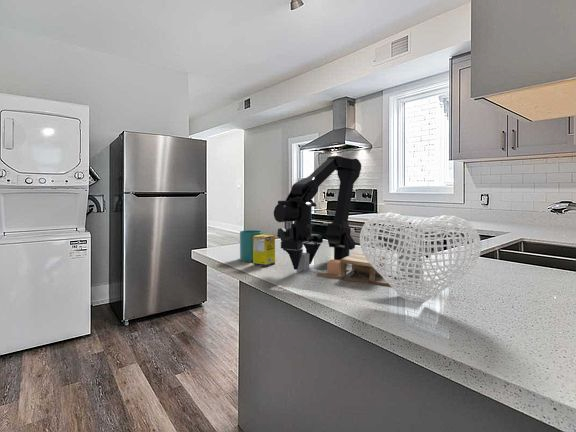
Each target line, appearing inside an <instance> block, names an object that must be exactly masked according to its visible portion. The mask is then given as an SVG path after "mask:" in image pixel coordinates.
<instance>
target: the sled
mask: <svg viewBox="0 0 576 432" xmlns="http://www.w3.org/2000/svg"><path fill="white" fill-rule="evenodd" d="M302 271H308V272H313V273H318V272H321V273H327V269H324V270H320V269H315V268H310V264H309V253H306V252H303V251H302V255H301V259H300V262H299V266H298V269H297V270H296V273H299V272H302ZM353 275H355V273H354V270H352V269H350V271H348V272H346V276H348V277H352V276H353Z"/></svg>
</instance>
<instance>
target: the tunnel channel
mask: <svg viewBox="0 0 576 432" xmlns="http://www.w3.org/2000/svg"><path fill="white" fill-rule="evenodd" d="M373 255H374V254H372V256H373ZM375 258H376V257H375ZM377 258H378V259H379V256H377ZM371 259H372V260H373V258H371ZM382 259H383V260H384V259H385V258H384V257H382ZM382 259H381V258H380V261H381V260H382ZM370 261H371V260H370ZM373 261H374V260H373ZM371 262H372V261H371ZM376 262H378V261H376ZM340 263H341V275H335V274H328V273H321V272H316V275H317V276H319V277H325V278H333V279H339V280H344V281H345V280H346V281H351V282H352V281H353V282H358V283H365V284H372V285H376V286H377V285H378V286H385V287H391V286H390V284H389V283H388V282H387V281H381V280H376V277H378V278H383V277H382V276H381V275H380V274H379V273H378V272H377V271H376V270H375V269H374V268H373V266H372V265H371V264H370V263H369V262H368V260H367V259H366V257H365V256H364V254H363V253H352V254H349V256H347V257H345V258H342V259H340ZM347 264H349V265H351V269H349V268H347ZM382 264H383V263H382ZM383 265H384V264H383ZM376 266H377V265H376ZM380 266H382V265H381V264H380ZM377 267H378V266H377ZM382 267H383V266H382ZM379 268H380V267H379ZM350 270H354V274H357V275H364V276H369V279H367V278H360V277H354V276H349V277H348V276H346V272H348V271H350ZM380 270H381V269H380ZM383 270H384V269H383ZM378 271H379V270H378ZM379 272H380V271H379ZM388 276H389V275H388ZM389 277H391V276H389ZM397 278H398V277H397ZM397 278H396V277H394V279H395V280H397ZM403 279H405V278H403ZM398 280H399V278H398ZM401 280H402V278H401ZM397 284H398V285H400V284H399V283H397ZM395 285H396V284H395ZM391 288H392V287H391ZM397 288H398V287H397Z"/></svg>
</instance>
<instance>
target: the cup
mask: <svg viewBox="0 0 576 432" xmlns="http://www.w3.org/2000/svg"><path fill="white" fill-rule="evenodd" d="M261 234H264V231H262V230H258V229H255V230H254V229H250V230H249V229H248V230H241V231H239V259H240V260H241V261H242V262H248V261H253V236H256V235H261Z"/></svg>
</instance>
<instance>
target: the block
mask: <svg viewBox="0 0 576 432" xmlns="http://www.w3.org/2000/svg"><path fill="white" fill-rule="evenodd" d="M326 265H327V266H326V268H327V269H326V270H327V273H328V274H335V275H341V263H340V260H334V258H333V259H330V260H328V261H327V263H326Z"/></svg>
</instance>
